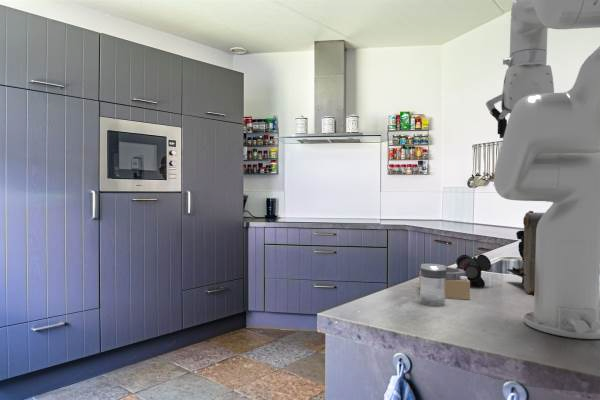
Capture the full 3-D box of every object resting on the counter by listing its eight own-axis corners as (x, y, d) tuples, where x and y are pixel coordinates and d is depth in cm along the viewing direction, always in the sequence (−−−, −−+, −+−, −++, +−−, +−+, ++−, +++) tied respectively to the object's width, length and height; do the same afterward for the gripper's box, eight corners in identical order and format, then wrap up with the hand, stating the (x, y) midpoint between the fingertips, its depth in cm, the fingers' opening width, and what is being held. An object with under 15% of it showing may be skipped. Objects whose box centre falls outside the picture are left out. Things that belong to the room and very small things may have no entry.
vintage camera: (541, 285, 112) (540, 211, 113) (572, 296, 97) (571, 211, 98) (503, 284, 113) (503, 211, 114) (529, 295, 98) (528, 210, 99)
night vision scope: (462, 284, 121) (491, 263, 119) (469, 299, 104) (503, 276, 102) (444, 262, 122) (473, 241, 120) (448, 274, 105) (482, 250, 103)
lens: (446, 307, 86) (448, 268, 86) (420, 305, 87) (421, 266, 87) (443, 301, 91) (444, 264, 91) (418, 299, 92) (419, 263, 92)
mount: (469, 299, 92) (470, 274, 92) (422, 296, 94) (423, 272, 94) (461, 289, 102) (462, 267, 102) (419, 287, 104) (419, 265, 104)
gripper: (491, 59, 94) (489, 135, 94) (576, 55, 91) (574, 134, 91) (483, 69, 101) (481, 139, 102) (562, 66, 98) (560, 139, 98)
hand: (525, 137), depth 96 cm, fingers open, 9 cm apart
